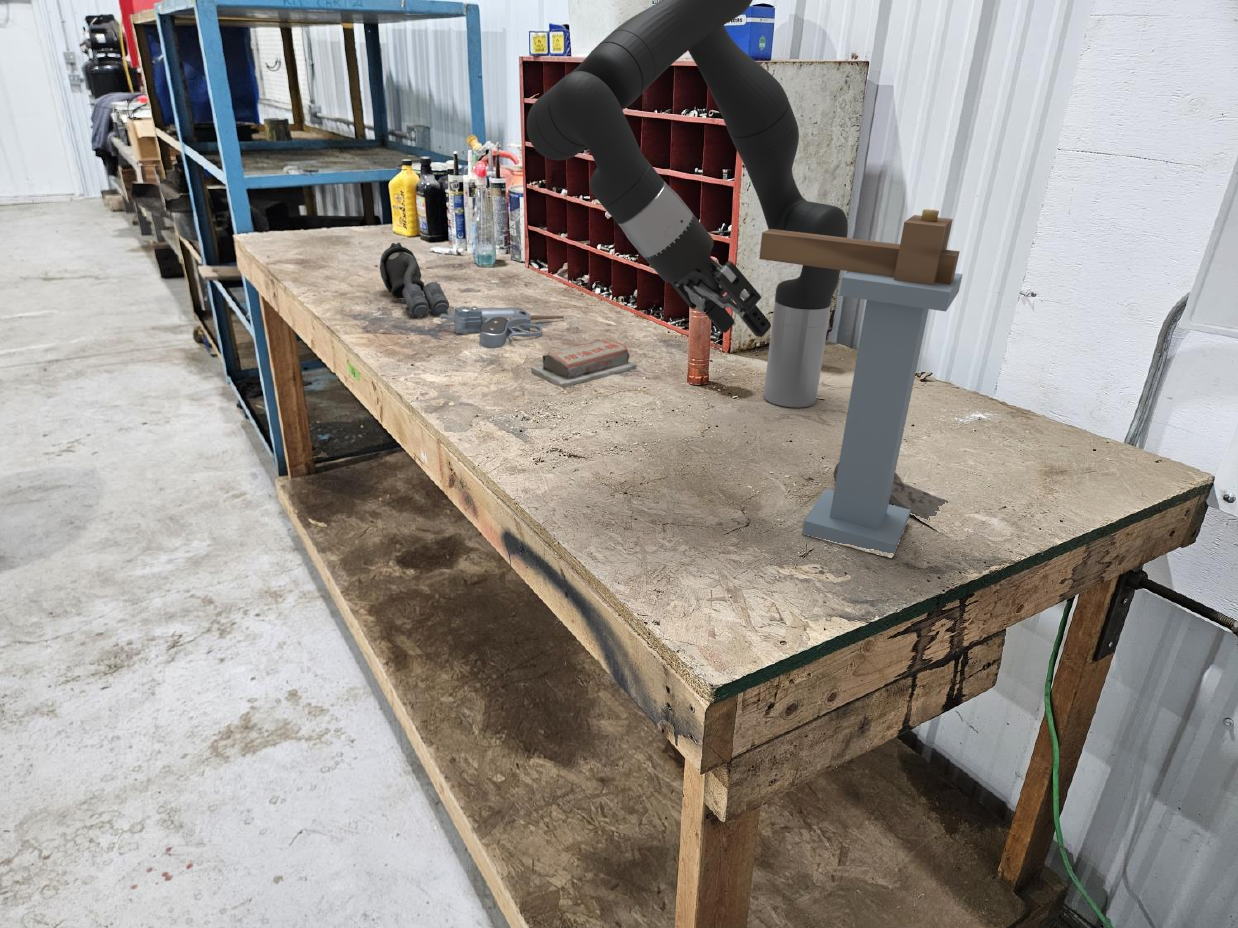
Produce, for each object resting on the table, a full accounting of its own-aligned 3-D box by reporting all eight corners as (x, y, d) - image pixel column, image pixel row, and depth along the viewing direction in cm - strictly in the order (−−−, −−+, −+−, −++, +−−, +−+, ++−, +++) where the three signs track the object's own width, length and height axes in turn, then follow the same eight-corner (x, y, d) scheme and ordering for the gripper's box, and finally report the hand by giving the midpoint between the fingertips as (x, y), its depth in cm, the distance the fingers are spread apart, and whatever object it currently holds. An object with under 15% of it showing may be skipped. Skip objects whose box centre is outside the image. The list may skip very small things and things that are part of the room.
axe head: (1006, 509, 105) (973, 535, 98) (991, 540, 107) (957, 567, 101) (871, 437, 116) (833, 456, 110) (860, 466, 119) (823, 486, 112)
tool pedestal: (823, 501, 108) (863, 261, 94) (907, 523, 104) (962, 274, 90) (802, 534, 100) (842, 277, 86) (892, 559, 96) (950, 292, 82)
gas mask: (407, 351, 186) (373, 277, 199) (445, 346, 191) (410, 274, 203) (412, 301, 175) (376, 226, 188) (453, 297, 179) (414, 224, 192)
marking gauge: (771, 252, 97) (778, 192, 94) (955, 276, 88) (969, 210, 85) (754, 261, 92) (761, 197, 89) (947, 287, 84) (962, 218, 80)
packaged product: (603, 333, 159) (638, 346, 153) (603, 357, 161) (636, 370, 155) (529, 350, 148) (563, 364, 142) (529, 375, 150) (562, 390, 144)
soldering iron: (461, 356, 160) (438, 328, 172) (587, 351, 174) (557, 325, 185) (463, 328, 157) (439, 301, 169) (590, 325, 171) (560, 300, 183)
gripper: (716, 204, 88) (798, 310, 95) (659, 213, 101) (736, 306, 108) (671, 254, 87) (758, 357, 94) (620, 256, 100) (699, 347, 107)
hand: (746, 329), depth 101 cm, fingers open, 8 cm apart
